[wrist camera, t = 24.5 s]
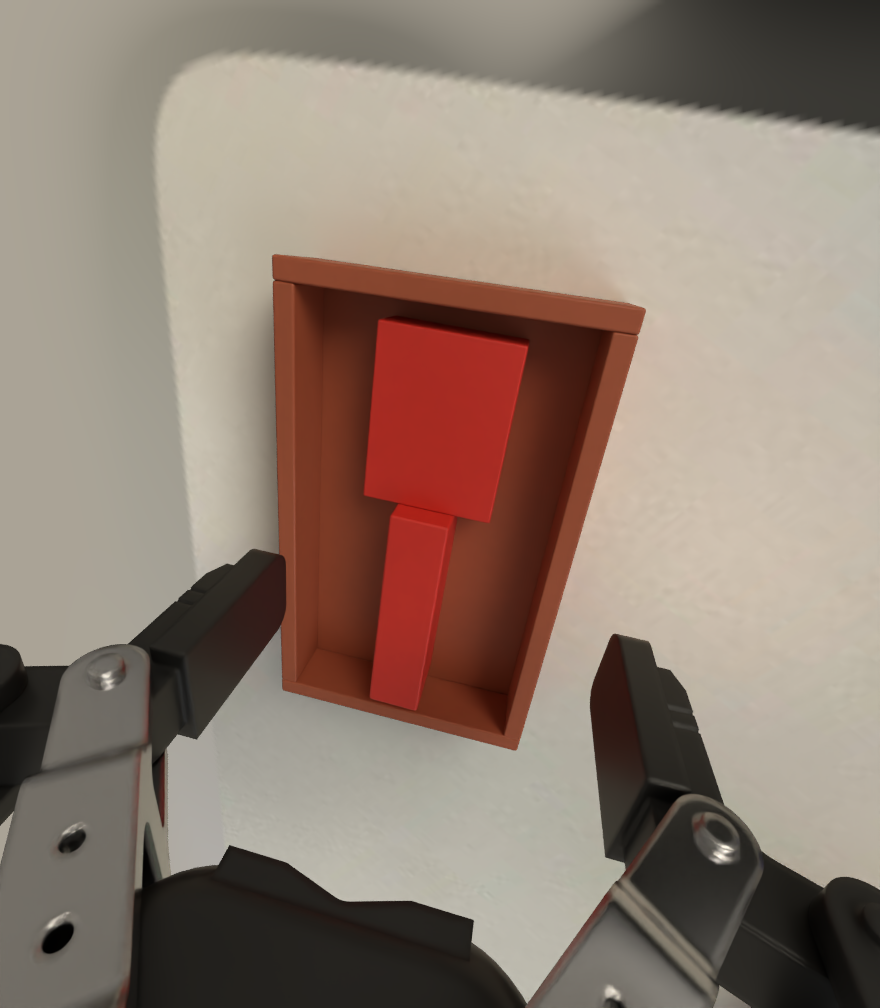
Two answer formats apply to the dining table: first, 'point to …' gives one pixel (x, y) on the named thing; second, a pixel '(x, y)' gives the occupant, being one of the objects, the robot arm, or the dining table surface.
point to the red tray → (477, 545)
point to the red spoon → (431, 473)
